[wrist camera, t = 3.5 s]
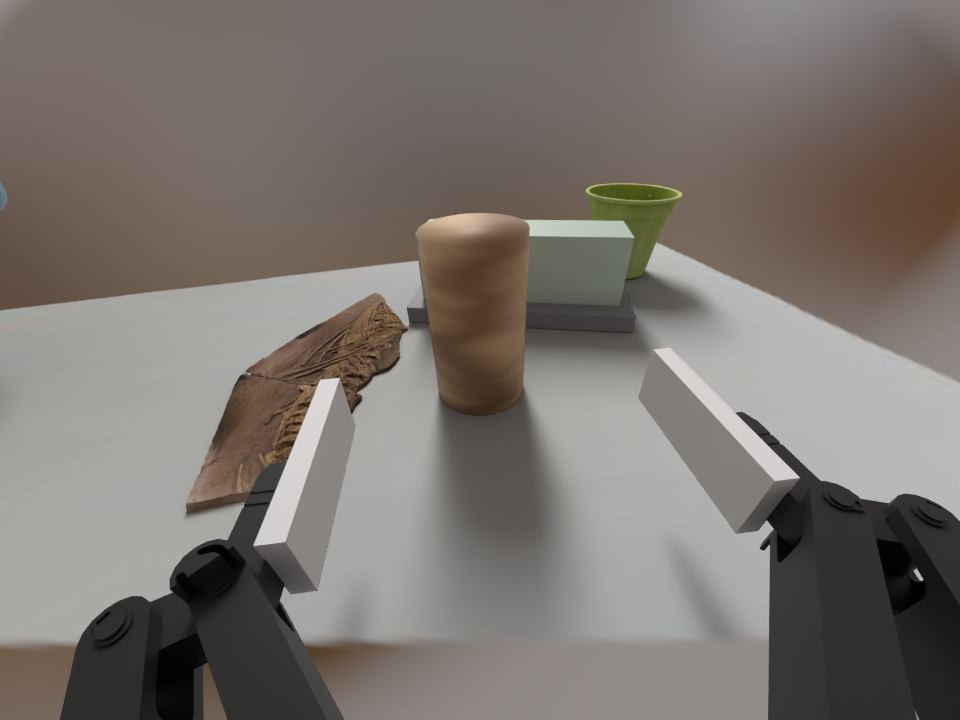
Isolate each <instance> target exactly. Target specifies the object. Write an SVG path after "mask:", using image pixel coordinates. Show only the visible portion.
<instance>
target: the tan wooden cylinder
mask: <svg viewBox="0 0 960 720" xmlns="http://www.w3.org/2000/svg"><path fill="white" fill-rule="evenodd" d="M529 232H530V227H529V224H528V223H527V222H526V221H524V220H522V219H520V218H516V217H513V216H508V215H502V214H491V213H472V214H460V215H452V216H447V217H442V218H438V219H435V220H432V221H429V222H427V223H425V224H423V225H422V226H420V227H419V228H418V230H417V238H418V245H419V253H420V260H421V267H422V274H423V281H424V288H425V295H426V302H427V309H428V316H429V323H430V331H431V338H432V345H433V352H434V359H435V366H436V373H437V380H438V387H439V394H440V396H441V398H442V400H443V401H444V402H445V404H447V405H448V406H449V407H451V408H452V409H454V410H456V411H458V412H461V413H465V414H470V415H488V414H493V413H497V412H500V411H503V410H505V409H507V408H509V407H510V406H512V405H513V404H514V403H515V402H516V401H517V400H518V399H519V397H520V396H521V393H522V390H523V372H524V349H525V325H526V302H527V279H528V255H529Z"/></svg>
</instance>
